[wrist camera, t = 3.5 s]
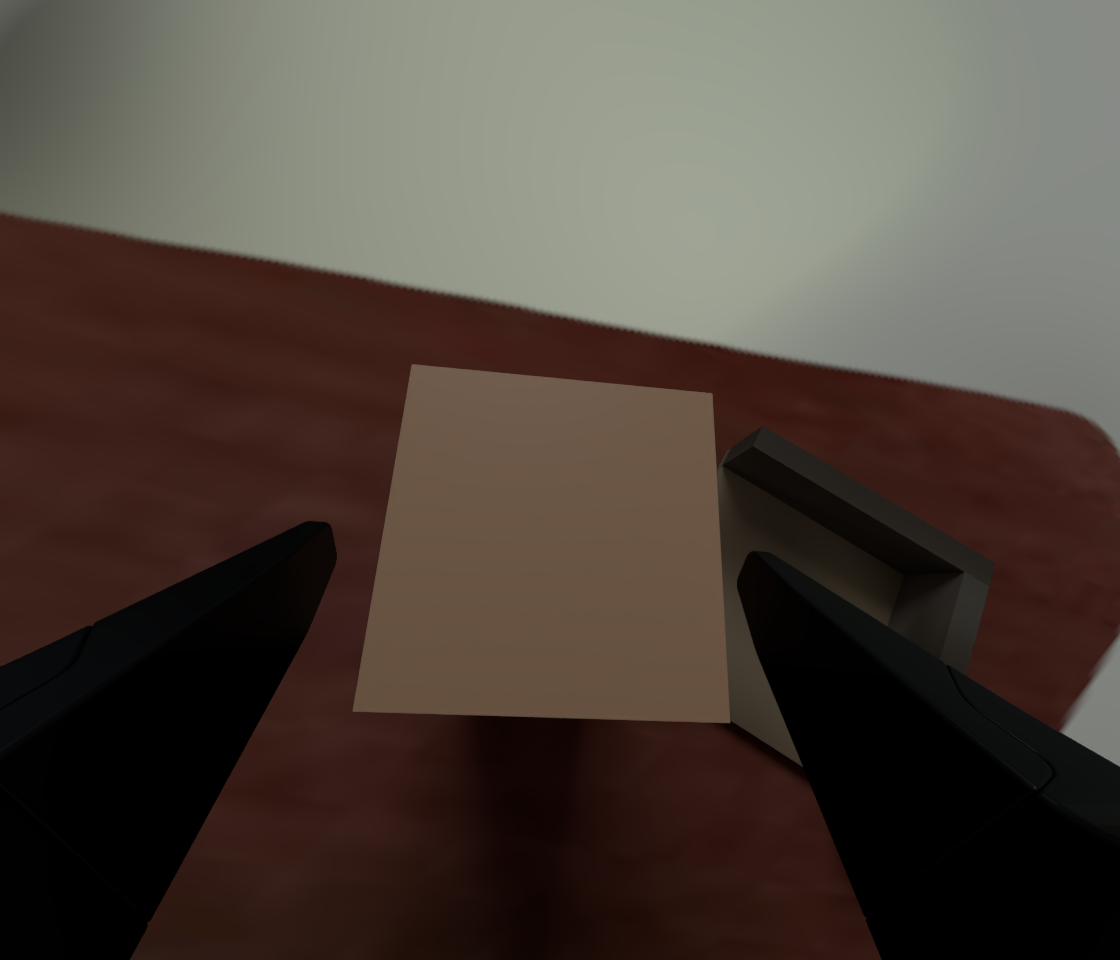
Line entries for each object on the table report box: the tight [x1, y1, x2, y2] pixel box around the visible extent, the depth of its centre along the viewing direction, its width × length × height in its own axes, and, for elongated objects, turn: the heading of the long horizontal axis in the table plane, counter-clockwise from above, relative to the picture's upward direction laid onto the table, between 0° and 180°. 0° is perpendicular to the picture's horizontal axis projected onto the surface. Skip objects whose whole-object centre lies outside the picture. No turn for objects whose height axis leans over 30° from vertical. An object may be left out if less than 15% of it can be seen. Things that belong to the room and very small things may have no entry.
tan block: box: [353, 364, 730, 723], centre depth 11 cm, size 5×5×11 cm
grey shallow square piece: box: [717, 426, 995, 767], centre depth 16 cm, size 10×10×3 cm
